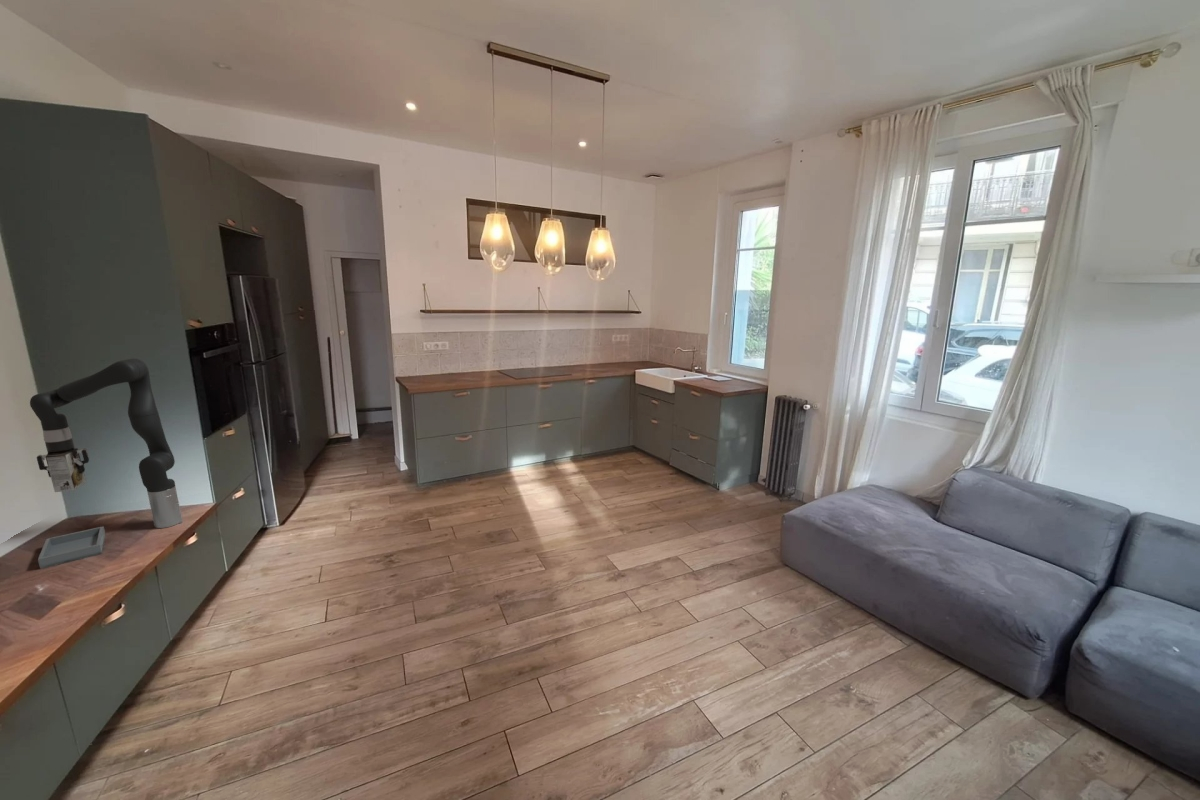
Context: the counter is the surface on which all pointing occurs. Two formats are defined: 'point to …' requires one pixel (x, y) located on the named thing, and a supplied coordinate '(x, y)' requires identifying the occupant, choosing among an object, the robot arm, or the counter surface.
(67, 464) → the coffee box
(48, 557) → the box
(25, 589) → the counter surface
